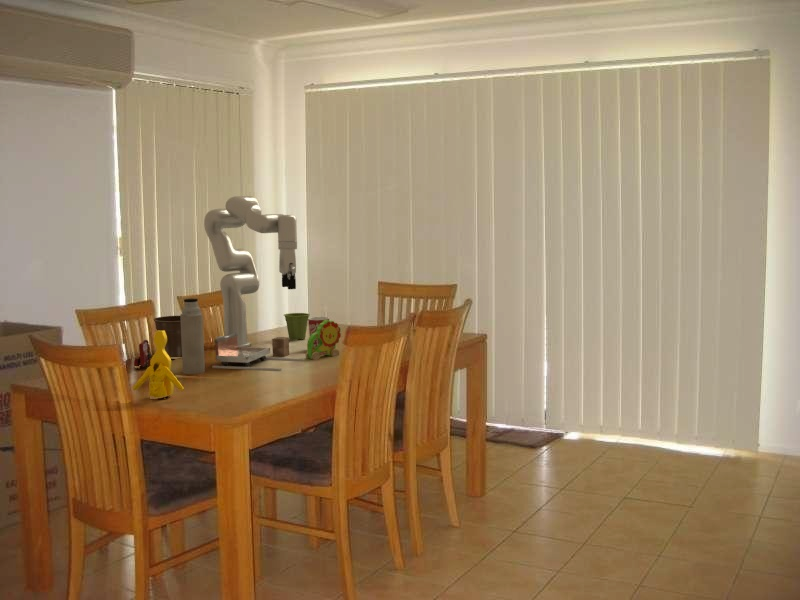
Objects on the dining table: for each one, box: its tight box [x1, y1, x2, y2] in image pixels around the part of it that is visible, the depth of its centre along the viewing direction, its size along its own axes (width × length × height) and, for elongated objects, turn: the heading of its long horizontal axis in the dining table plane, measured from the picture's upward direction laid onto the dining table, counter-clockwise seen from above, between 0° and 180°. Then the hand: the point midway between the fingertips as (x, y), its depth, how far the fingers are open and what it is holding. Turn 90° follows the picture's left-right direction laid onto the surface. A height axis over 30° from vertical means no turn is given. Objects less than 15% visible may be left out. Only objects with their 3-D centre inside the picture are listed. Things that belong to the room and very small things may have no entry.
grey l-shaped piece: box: [214, 333, 271, 367], centre depth 359 cm, size 14×20×11 cm
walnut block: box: [271, 336, 290, 358], centre depth 375 cm, size 5×5×8 cm
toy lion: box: [305, 320, 342, 361], centre depth 371 cm, size 16×5×15 cm, turn 134°
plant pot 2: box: [283, 312, 311, 341], centre depth 421 cm, size 12×12×11 cm
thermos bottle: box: [179, 298, 206, 375], centre depth 343 cm, size 8×8×28 cm
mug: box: [308, 316, 330, 349], centre depth 393 cm, size 13×9×14 cm
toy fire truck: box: [133, 339, 153, 367], centre depth 359 cm, size 7×12×10 cm, turn 1°
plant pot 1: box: [153, 315, 182, 357], centre depth 379 cm, size 16×16×16 cm
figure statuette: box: [131, 330, 185, 397], centre depth 304 cm, size 18×8×22 cm, turn 82°
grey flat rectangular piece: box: [211, 356, 304, 372], centre depth 357 cm, size 28×21×2 cm
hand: (288, 287), depth 378 cm, fingers open, 9 cm apart
